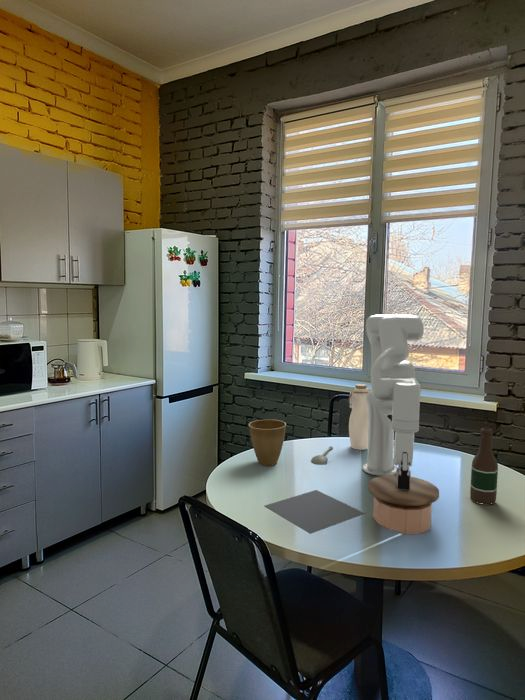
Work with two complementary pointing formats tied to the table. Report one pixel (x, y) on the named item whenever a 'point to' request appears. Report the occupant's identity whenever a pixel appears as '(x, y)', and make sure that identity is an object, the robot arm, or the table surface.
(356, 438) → the water bottle
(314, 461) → the soupspoon
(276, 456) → the plant pot
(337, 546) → the table surface
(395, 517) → the bowl
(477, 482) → the beer bottle
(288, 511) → the mat
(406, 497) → the lid
